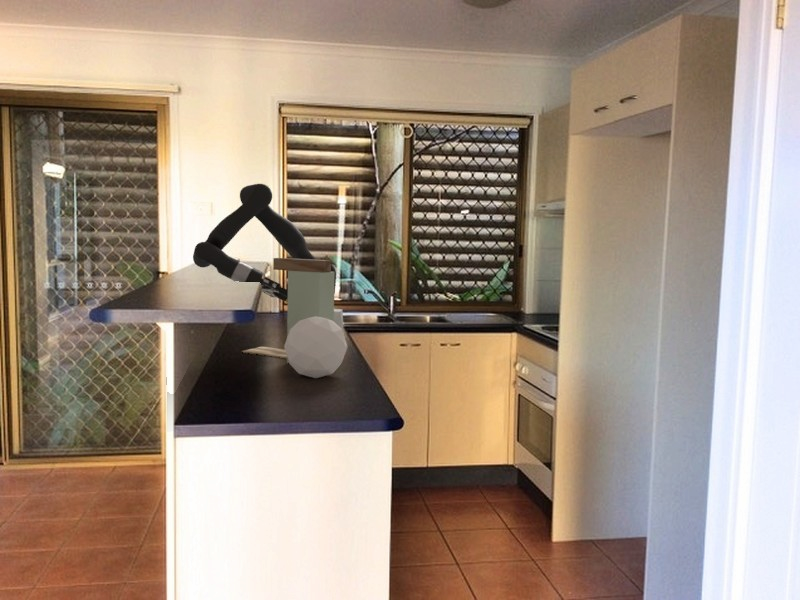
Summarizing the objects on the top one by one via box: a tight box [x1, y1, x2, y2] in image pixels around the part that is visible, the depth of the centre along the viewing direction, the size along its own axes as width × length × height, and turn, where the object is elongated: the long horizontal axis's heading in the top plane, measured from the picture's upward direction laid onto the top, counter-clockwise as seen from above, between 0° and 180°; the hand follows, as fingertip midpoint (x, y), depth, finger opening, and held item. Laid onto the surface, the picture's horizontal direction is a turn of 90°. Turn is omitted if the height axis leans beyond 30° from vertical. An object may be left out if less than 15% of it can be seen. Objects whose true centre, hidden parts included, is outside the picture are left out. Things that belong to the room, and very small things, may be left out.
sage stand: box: [286, 270, 335, 365], centre depth 225 cm, size 9×13×32 cm
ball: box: [283, 316, 348, 379], centre depth 207 cm, size 19×20×20 cm
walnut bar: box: [272, 257, 332, 273], centre depth 225 cm, size 4×21×4 cm, turn 64°
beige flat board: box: [241, 346, 287, 360], centre depth 243 cm, size 12×25×1 cm, turn 64°
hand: (288, 296), depth 235 cm, fingers open, 8 cm apart
